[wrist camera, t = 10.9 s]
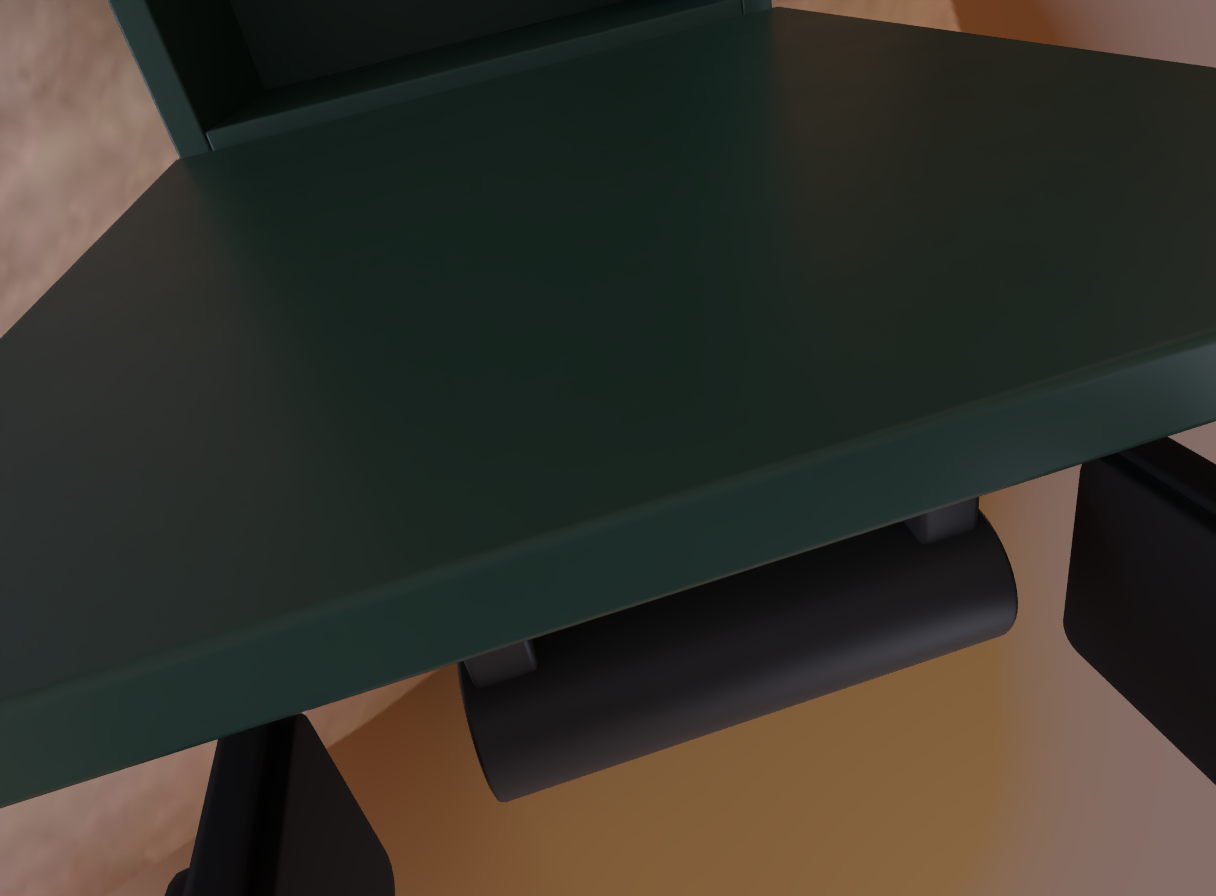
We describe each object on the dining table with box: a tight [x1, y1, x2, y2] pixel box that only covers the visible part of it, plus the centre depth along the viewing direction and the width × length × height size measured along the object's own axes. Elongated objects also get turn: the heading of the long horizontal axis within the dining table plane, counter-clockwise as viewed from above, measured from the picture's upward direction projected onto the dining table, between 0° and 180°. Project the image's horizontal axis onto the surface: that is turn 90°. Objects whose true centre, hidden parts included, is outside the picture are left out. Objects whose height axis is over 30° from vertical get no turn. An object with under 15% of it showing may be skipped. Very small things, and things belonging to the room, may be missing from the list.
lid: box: [0, 7, 1216, 808], centre depth 14 cm, size 18×16×5 cm
